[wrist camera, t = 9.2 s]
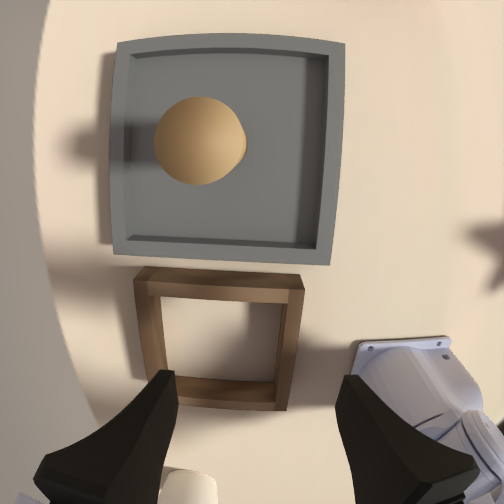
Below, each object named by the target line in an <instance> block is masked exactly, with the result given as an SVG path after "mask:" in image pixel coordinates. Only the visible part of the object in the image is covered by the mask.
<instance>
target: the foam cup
mask: <svg viewBox="0 0 504 504" xmlns="http://www.w3.org/2000/svg"><path fill="white" fill-rule="evenodd" d="M216 487H217V485H216V482H215V480H214V479H212V478H211V477H210V476H208V475H205V474H203V473H200V472H196V471H190V470H176V471H173V472H170V473H169V475H168V476H167V479H166V481H165V483H164V486H163V488H162V491H161V493H160V495H159V498H158V502H157V504H218V497H217V488H216Z"/></svg>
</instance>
